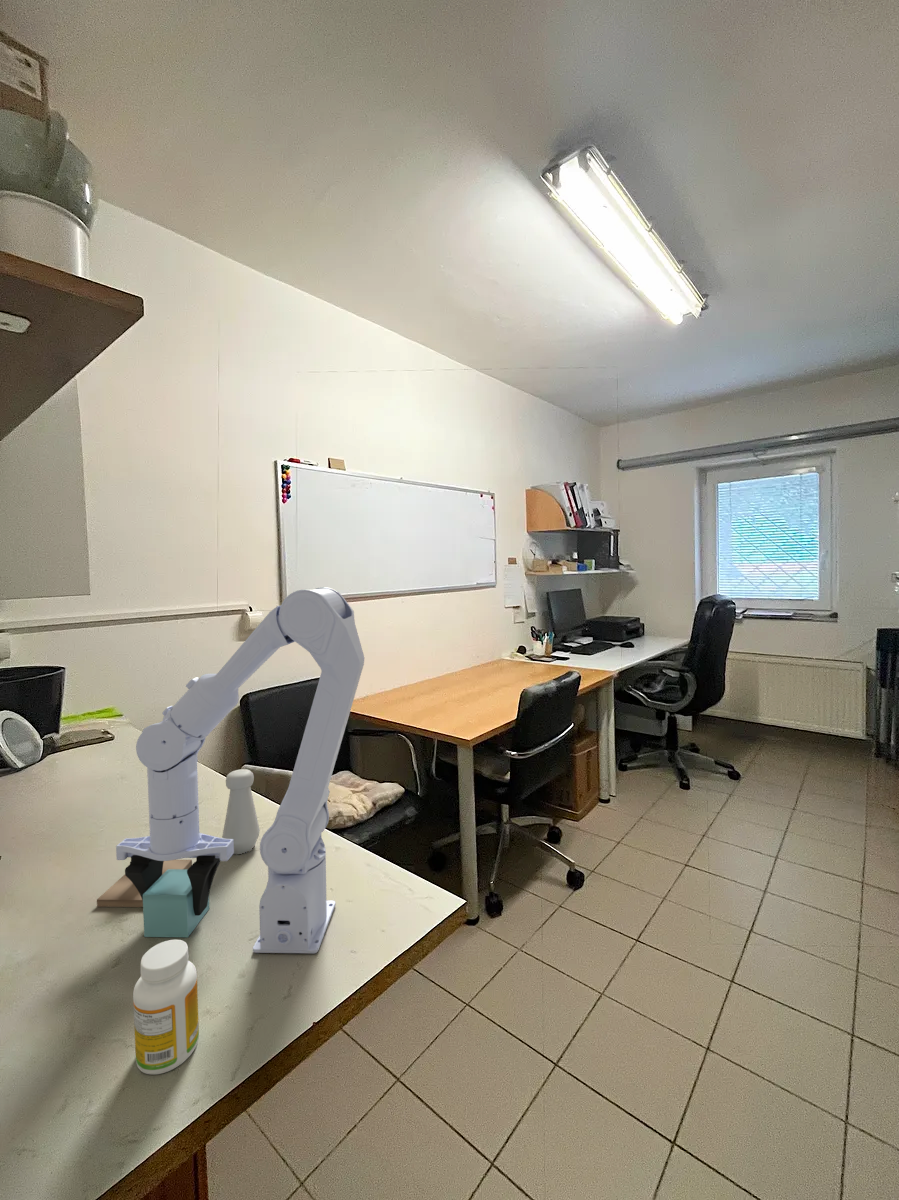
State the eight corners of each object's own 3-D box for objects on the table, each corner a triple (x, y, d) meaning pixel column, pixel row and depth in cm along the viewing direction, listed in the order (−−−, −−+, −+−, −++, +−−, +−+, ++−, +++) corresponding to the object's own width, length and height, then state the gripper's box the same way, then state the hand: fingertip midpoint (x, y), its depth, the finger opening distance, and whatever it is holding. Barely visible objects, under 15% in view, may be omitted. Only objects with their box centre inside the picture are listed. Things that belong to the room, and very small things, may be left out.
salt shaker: (246, 859, 83) (244, 780, 82) (214, 855, 84) (212, 777, 83) (266, 841, 89) (264, 766, 88) (236, 837, 90) (234, 764, 89)
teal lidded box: (187, 937, 65) (186, 895, 65) (144, 936, 65) (142, 894, 65) (209, 908, 71) (208, 869, 71) (169, 908, 71) (167, 869, 71)
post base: (154, 907, 71) (152, 868, 71) (97, 906, 71) (95, 867, 71) (191, 865, 81) (190, 831, 81) (141, 865, 81) (140, 831, 81)
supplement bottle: (182, 1016, 54) (179, 926, 53) (209, 1044, 51) (206, 948, 50) (125, 1055, 49) (121, 958, 49) (151, 1089, 46) (147, 984, 46)
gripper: (242, 796, 71) (245, 891, 72) (138, 795, 71) (142, 890, 72) (218, 821, 64) (221, 926, 65) (103, 820, 64) (107, 925, 65)
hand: (177, 910), depth 68 cm, fingers closed on teal lidded box, 6 cm apart
